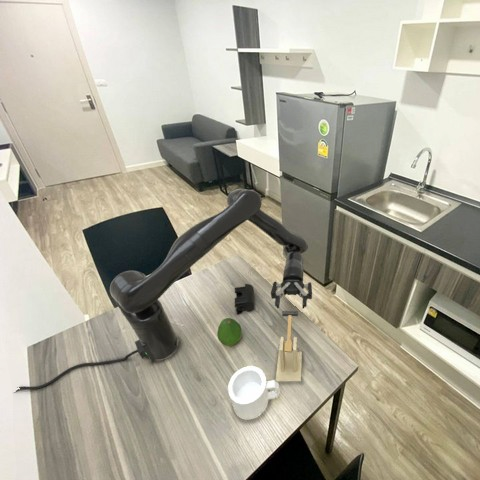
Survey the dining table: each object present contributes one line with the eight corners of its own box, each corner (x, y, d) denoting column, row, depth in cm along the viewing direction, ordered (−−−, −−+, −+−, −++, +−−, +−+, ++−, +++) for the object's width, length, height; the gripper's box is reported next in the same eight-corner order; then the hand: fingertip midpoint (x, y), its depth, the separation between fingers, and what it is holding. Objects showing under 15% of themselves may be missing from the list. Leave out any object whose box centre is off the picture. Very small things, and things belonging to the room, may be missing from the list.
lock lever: (282, 312, 87) (282, 310, 85) (298, 312, 87) (297, 310, 85) (280, 352, 81) (279, 351, 79) (296, 352, 81) (296, 351, 79)
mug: (278, 378, 84) (276, 360, 78) (281, 413, 76) (280, 396, 70) (234, 387, 81) (228, 369, 75) (233, 425, 73) (226, 408, 67)
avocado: (226, 355, 90) (220, 334, 83) (216, 339, 94) (209, 318, 87) (247, 342, 94) (243, 321, 87) (237, 327, 99) (232, 306, 92)
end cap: (255, 312, 105) (253, 300, 101) (237, 315, 103) (234, 303, 99) (254, 293, 113) (252, 282, 109) (236, 296, 111) (234, 285, 107)
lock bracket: (278, 353, 91) (276, 328, 83) (302, 353, 92) (302, 329, 84) (275, 382, 83) (272, 359, 75) (300, 382, 84) (300, 359, 75)
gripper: (274, 265, 98) (268, 298, 85) (312, 266, 99) (312, 299, 86) (275, 280, 103) (269, 313, 90) (311, 280, 103) (311, 314, 90)
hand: (290, 306), depth 88 cm, fingers open, 8 cm apart
